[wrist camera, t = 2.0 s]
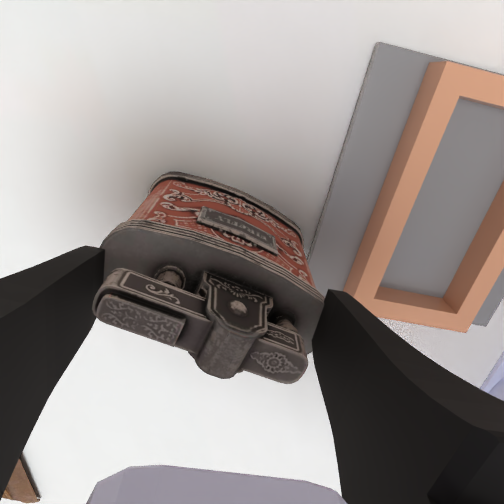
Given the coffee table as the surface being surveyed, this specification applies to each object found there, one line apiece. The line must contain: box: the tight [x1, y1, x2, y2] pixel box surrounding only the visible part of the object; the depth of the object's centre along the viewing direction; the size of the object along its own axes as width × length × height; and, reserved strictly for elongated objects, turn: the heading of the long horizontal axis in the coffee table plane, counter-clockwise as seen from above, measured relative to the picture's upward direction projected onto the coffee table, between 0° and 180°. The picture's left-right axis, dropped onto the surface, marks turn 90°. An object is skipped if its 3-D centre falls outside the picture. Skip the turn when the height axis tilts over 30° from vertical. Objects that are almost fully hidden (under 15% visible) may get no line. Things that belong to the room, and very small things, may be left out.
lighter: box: [92, 172, 325, 384], centre depth 14 cm, size 8×3×10 cm, turn 65°
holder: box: [307, 42, 504, 333], centre depth 17 cm, size 11×12×2 cm
